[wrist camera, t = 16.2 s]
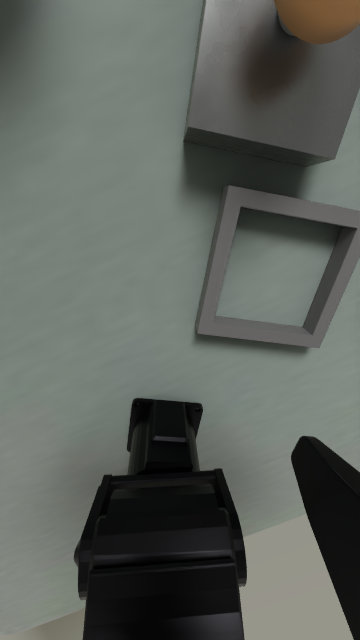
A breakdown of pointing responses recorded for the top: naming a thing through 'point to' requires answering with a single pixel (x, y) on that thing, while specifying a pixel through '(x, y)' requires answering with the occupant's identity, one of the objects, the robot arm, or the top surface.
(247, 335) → the collar
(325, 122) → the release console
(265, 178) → the top surface
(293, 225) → the top surface
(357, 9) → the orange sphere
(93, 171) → the top surface
